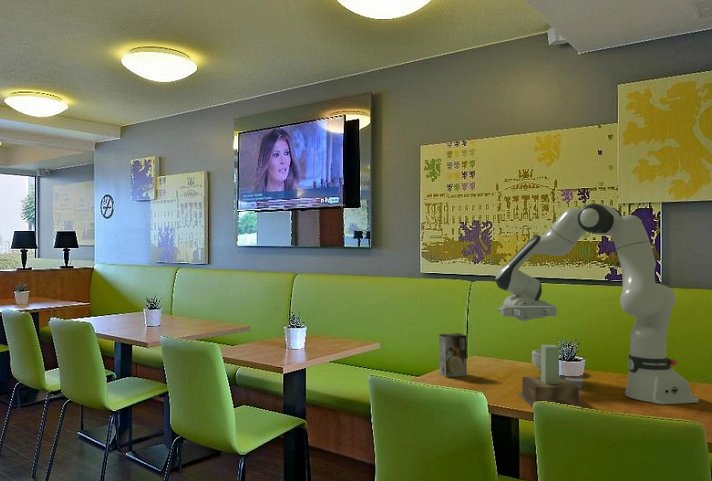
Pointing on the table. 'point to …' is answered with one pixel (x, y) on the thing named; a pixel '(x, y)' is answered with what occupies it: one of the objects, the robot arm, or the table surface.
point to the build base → (549, 391)
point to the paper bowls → (537, 358)
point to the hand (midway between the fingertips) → (534, 313)
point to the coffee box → (452, 355)
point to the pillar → (550, 364)
